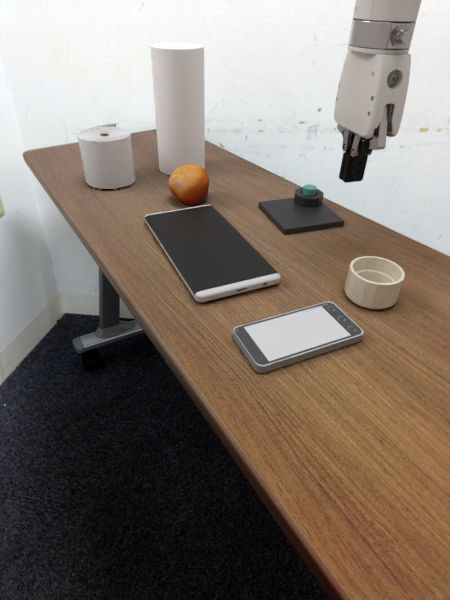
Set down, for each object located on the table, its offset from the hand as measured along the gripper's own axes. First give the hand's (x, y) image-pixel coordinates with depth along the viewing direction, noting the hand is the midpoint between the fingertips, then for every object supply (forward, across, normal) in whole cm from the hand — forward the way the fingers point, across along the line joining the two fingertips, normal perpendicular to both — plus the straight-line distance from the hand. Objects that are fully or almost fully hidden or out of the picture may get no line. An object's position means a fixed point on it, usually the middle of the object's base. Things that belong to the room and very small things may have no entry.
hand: (350, 179), depth 64 cm
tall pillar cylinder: (+12, +43, +16) cm, 48 cm away
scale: (+12, +13, +1) cm, 18 cm away
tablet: (+12, +5, +21) cm, 25 cm away
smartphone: (+12, -19, +16) cm, 27 cm away
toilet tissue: (+12, +40, +34) cm, 54 cm away
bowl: (+12, -13, +2) cm, 18 cm away
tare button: (+9, +16, -3) cm, 19 cm away
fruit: (+12, +25, +19) cm, 34 cm away
